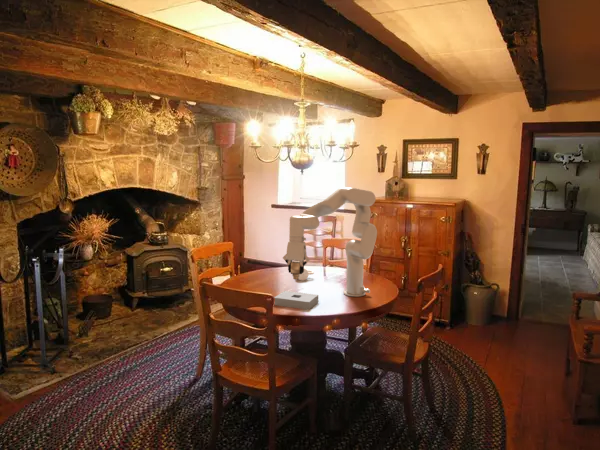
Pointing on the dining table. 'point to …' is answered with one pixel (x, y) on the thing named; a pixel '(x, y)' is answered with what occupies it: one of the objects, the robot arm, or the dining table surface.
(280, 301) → the grey block with hole
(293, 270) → the maple peg
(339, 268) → the dining table surface
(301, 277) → the mug
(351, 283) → the robot arm
